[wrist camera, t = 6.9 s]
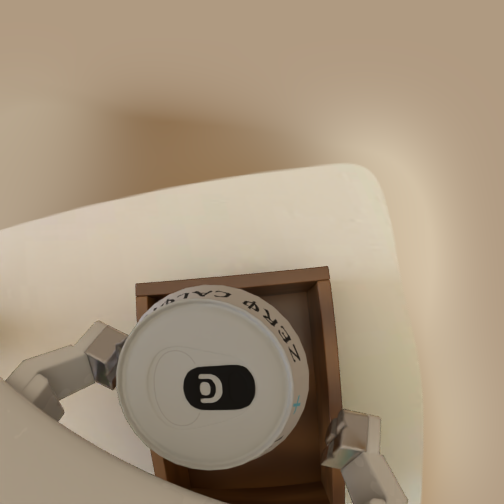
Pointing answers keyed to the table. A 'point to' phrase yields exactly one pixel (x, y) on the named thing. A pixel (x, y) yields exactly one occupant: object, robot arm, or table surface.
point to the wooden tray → (316, 407)
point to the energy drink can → (212, 377)
